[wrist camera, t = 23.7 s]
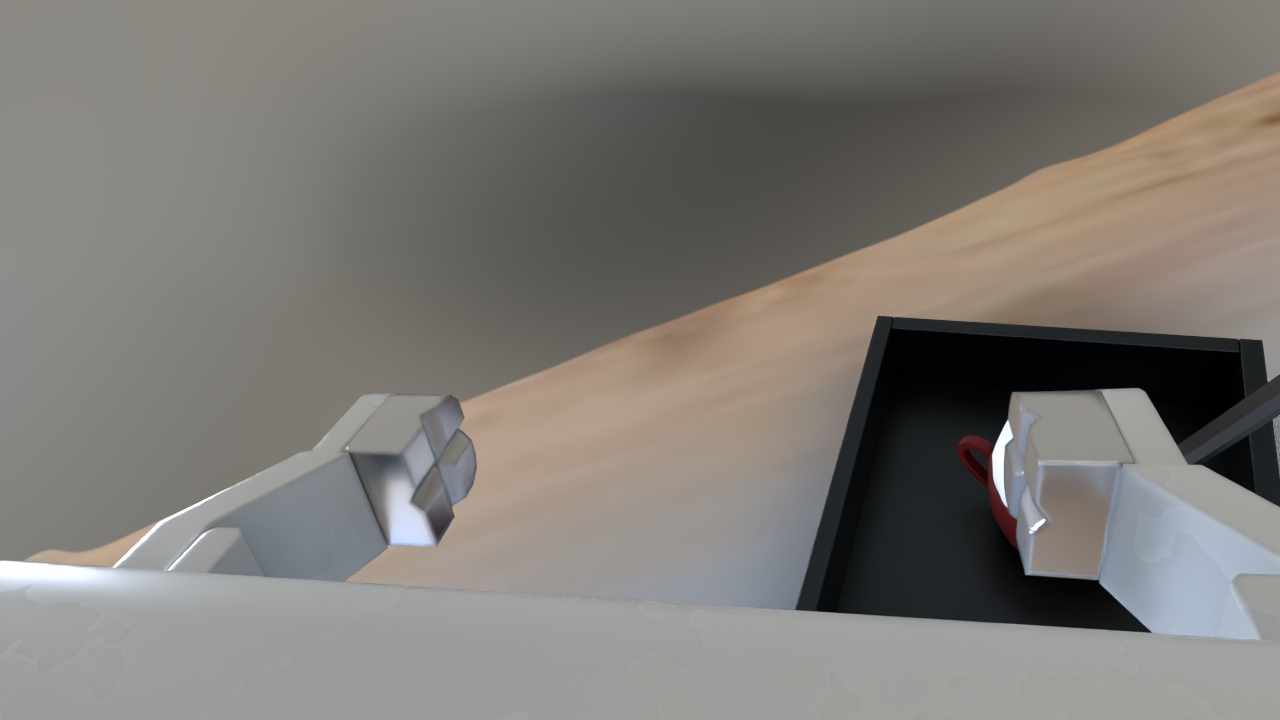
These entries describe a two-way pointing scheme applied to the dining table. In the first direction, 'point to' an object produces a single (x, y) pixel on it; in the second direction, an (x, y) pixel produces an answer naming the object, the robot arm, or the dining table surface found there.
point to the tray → (951, 496)
